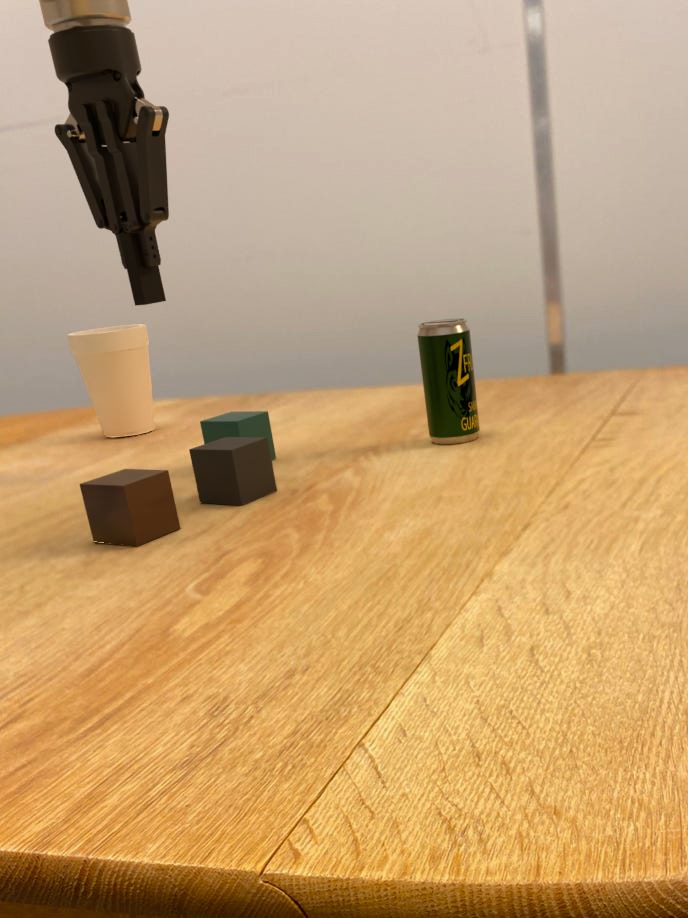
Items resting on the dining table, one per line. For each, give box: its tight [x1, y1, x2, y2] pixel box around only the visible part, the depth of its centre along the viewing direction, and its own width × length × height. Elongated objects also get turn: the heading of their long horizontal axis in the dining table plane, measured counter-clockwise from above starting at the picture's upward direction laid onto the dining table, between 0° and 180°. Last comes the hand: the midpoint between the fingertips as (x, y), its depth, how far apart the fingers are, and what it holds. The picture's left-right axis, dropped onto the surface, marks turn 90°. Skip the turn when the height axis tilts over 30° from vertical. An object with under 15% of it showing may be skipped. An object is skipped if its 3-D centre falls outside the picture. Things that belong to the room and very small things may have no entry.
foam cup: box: [66, 323, 156, 436], centre depth 135 cm, size 10×9×13 cm
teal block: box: [199, 410, 277, 461], centre depth 111 cm, size 5×5×5 cm
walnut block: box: [78, 468, 181, 547], centre depth 87 cm, size 5×5×5 cm
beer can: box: [416, 318, 481, 445], centre depth 110 cm, size 5×5×12 cm
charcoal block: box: [188, 437, 278, 506], centre depth 97 cm, size 5×5×5 cm
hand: (150, 303), depth 104 cm, fingers closed
